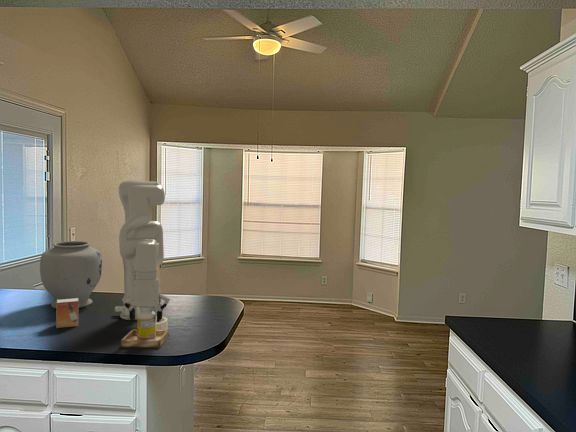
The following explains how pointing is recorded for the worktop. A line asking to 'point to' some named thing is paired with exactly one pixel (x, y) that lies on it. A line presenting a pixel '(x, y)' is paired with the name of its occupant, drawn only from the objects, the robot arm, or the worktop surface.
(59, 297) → the grey ceramic vase
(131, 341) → the tray
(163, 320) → the holder
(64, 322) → the small box
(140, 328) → the supplement bottle
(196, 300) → the worktop surface
